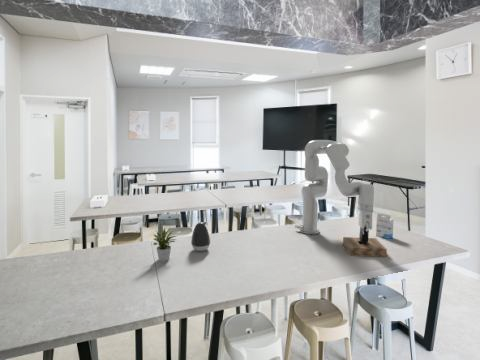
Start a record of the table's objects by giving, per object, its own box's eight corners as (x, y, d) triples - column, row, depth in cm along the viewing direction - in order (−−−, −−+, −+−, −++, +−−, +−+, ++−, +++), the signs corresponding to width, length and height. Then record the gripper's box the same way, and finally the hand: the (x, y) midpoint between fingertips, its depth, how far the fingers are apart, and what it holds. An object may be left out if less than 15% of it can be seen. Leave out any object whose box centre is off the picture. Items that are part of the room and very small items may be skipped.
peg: (360, 248, 168) (361, 226, 166) (358, 245, 172) (359, 224, 170) (368, 248, 167) (369, 227, 166) (366, 246, 171) (367, 225, 169)
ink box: (393, 237, 191) (394, 214, 189) (389, 239, 188) (390, 215, 186) (379, 234, 197) (380, 211, 196) (375, 235, 194) (376, 212, 192)
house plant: (162, 268, 145) (161, 234, 143) (142, 262, 152) (140, 229, 150) (183, 258, 157) (182, 227, 155) (163, 253, 164) (162, 223, 162)
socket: (349, 255, 162) (350, 247, 161) (343, 243, 179) (343, 237, 179) (386, 256, 159) (386, 249, 159) (375, 245, 177) (376, 238, 177)
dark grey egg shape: (213, 248, 172) (213, 221, 170) (203, 254, 163) (203, 226, 161) (198, 245, 176) (197, 219, 175) (187, 251, 167) (187, 223, 165)
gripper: (377, 210, 158) (375, 245, 160) (368, 204, 174) (366, 235, 177) (362, 210, 159) (360, 244, 161) (354, 203, 175) (352, 235, 177)
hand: (363, 239), depth 169 cm, fingers closed on peg, 4 cm apart
